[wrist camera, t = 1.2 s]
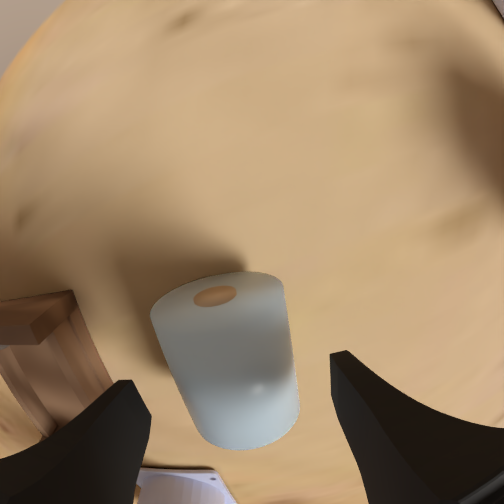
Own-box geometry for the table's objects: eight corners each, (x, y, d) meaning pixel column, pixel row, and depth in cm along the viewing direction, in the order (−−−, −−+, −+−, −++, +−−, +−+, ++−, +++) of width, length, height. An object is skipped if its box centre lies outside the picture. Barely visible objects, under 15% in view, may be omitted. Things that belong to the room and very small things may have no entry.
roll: (292, 371, 14) (308, 441, 10) (201, 383, 15) (188, 454, 10) (275, 262, 13) (293, 314, 8) (167, 280, 13) (129, 337, 8)
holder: (143, 433, 16) (129, 477, 12) (61, 424, 16) (42, 458, 12) (72, 289, 13) (29, 324, 9) (-6, 302, 13) (-42, 328, 9)
